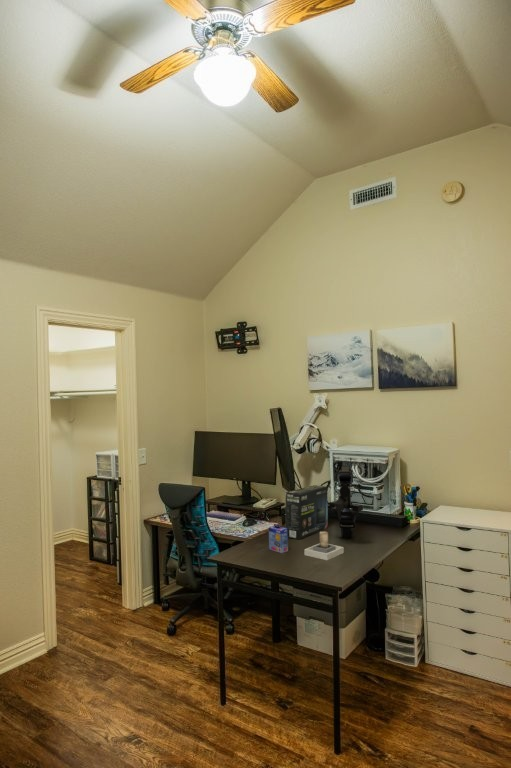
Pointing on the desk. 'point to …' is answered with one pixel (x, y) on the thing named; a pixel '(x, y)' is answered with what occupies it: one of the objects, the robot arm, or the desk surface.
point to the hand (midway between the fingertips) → (346, 521)
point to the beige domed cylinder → (324, 540)
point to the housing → (324, 551)
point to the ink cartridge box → (278, 539)
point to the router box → (306, 511)
